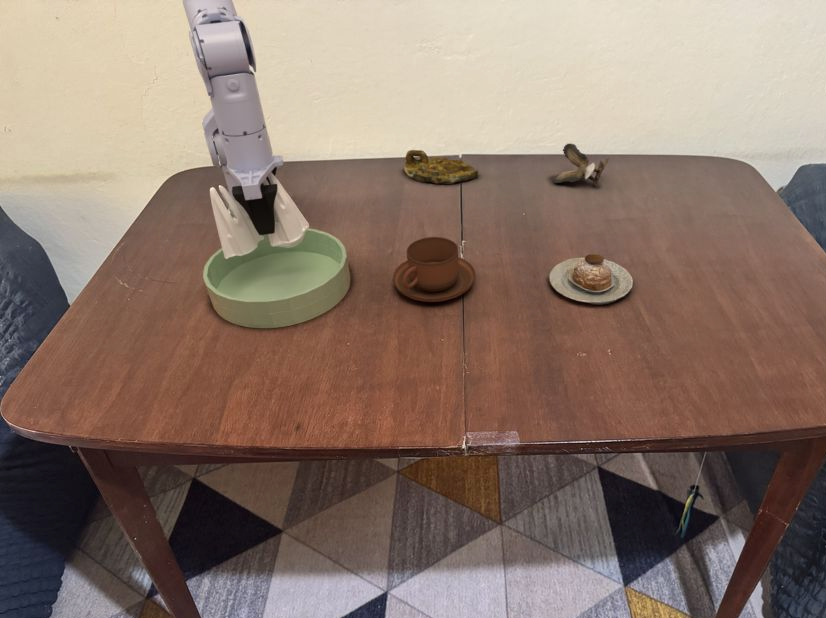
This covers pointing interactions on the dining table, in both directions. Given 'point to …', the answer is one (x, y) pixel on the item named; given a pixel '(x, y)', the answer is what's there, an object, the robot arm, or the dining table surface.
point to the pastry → (591, 280)
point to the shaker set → (241, 232)
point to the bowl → (279, 281)
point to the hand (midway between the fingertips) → (266, 225)
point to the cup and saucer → (433, 271)
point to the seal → (437, 169)
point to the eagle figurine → (579, 166)
